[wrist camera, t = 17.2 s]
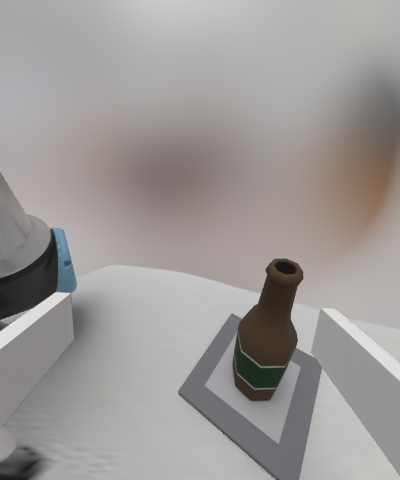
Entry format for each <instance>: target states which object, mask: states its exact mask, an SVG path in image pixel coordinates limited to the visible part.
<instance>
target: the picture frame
mask: <svg viewBox="0 0 400 480" xmlns="http://www.w3.org/2000/svg"><path fill="white" fill-rule="evenodd" d="M241 320H242V318H240V317H238V316H236V315H234V314H231V315H230V317H229V318H228V319H227V321H226V322H225V324H224V325H223V327H222V328H221V330H220V331H219V333H218V334H217V336H216V337H215V338H214V340H213V341H212V343H211V344H210V346H209V347H208V349H207V350H206V352H205V353H204V355H203V356H202V357H201V359H200V360H199V362H198V363H197V365H196V366H195V368H194V369H193V371H192V372H191V374H190V375H189V376H188V378H187V379H186V381H185V382H184V384H183V385H182V387H181V388H180V390H179V391H178V392H179V395H180V396H182V397H183V398H184V399H185V400H186V401H187V402H188V403H190V404H191V405H192V406H193V407H194V408H195V409H196V410H198V411H199V412H200V413H201V414H202V415H203V416H205V417H206V418H207V419H208V420H209V421H210V422H211V423H213V424H214V425H215V426H216V427H217V428H218V429H219V430H221V431H222V432H223V433H224V434H225V435H226V436H227V437H229V438H230V439H231V440H232V441H233V442H234V443H235V444H237V445H238V446H239V447H240V448H241V449H242V450H243V451H245V452H246V453H247V454H248V455H249V456H250V457H251V458H253V459H254V460H255V461H256V462H257V463H258V464H259V465H261V466H262V467H263V468H264V469H265V470H266V471H267V472H269V473H270V474H271V475H272V476H273V477H274V478H275V479H277V480H299V475H300V471H301V466H302V461H303V456H304V451H305V446H306V442H307V437H308V432H309V427H310V422H311V417H312V412H313V408H314V403H315V398H316V393H317V388H318V383H319V379H320V374H321V369H322V367H321V365H320V364H319V363H318V361H317V360H316V359H315V358H314V357H312V356H310V355H308V354H306V353H304V352H302V351H301V350H299V349H297V348H296V349H295V351H294V353H293V355H292V358H291V360H290V362H289V364H288V367H287V369H286V371H285V373H284V376H283V378H282V380H281V382H280V383H279V385H278V387H277V389H276V391H275V392H274V394H273V396H272V397H271V399H270V400H261V401H251V400H249V399H248V398H247V397H246V396H245V395H244V394H243V393H242V392H241V391H240V390H239V389H238V388H237V387H236V386H235V381H234V374H233V367H232V364H233V355H234V349H235V342H236V336H237V329H238V326H239V323H240V321H241Z"/></svg>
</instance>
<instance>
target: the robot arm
mask: <svg viewBox="0 0 400 480" xmlns="http://www.w3.org/2000/svg"><path fill="white" fill-rule="evenodd" d="M76 287H77V281H76V277H75V273H74V270H73V265H72V261H71V257H70V253H69V249H68V245H67V241H66V237H65V233H64V230H63V229H61V228H51V229H49V227H48V226H47V224H46V223H45V222H44V221H43V220H41V219H39V218H37V217H35V216H32V215H27V214H26V213H25V211H24V210H23V208H22V206H21V205H20V203H19V202H18V200H17V198H16V197H15V195H14V193H13V192H12V190H11V189H10V187H9V185H8V184H7V182H6V181H5V179H4V177H3V176H2V174H1V173H0V320H1V319H4V318H7V317H9V316H12V315H15V314H18V313H21V312H24V311H27V310H29V309H31V310H30V311H28V312H27V313H26V314H24V315H23V316H21V317H20V318H18V319H17V320H16V321H14V322H13V323H11V324H10V325H8V324H6V323H3V322H1V321H0V428H1V427H2V425H3V424H4V423H5V422H6V421H7V419H8V418H9V417H10V416H11V415H12V413H13V412H14V411H15V410H16V409H17V407H18V406H19V405H20V404H21V403H22V401H23V400H24V399H25V398H26V397H27V395H28V394H29V393H30V392H31V391H32V389H33V388H34V387H35V386H36V385H37V383H38V382H39V381H40V380H41V379H42V378H43V376H44V375H45V374H46V373H47V372H48V370H49V369H50V368H51V367H52V366H53V364H54V363H55V362H56V361H57V360H58V358H59V357H60V356H61V355H62V354H63V352H64V351H65V350H66V349H67V348H68V346H69V345H70V344H71V343H72V342H73V340H74V330H73V315H72V300H71V293H72V292H74V291H75V289H76ZM32 308H33V309H32ZM311 353H312V354H313V356H314V357H315V358H316V360H317V361H318V363H319V364H320V365H321V367H322V368H323V369H324V371H325V372H326V374H327V375H328V376H329V378H330V379H331V381H332V382H333V383H334V385H335V386H336V388H337V389H338V390H339V392H340V393H341V395H342V396H343V397H344V399H345V400H346V401H347V403H348V404H349V406H350V407H351V408H352V410H353V411H354V413H355V414H356V415H357V417H358V418H359V420H360V421H361V422H362V424H363V425H364V426H365V428H366V429H367V431H368V432H369V433H370V435H371V436H372V438H373V439H374V440H375V442H376V443H377V445H378V446H379V447H380V449H381V450H382V452H383V453H384V454H385V456H386V457H387V458H388V460H389V461H390V463H391V464H392V465H393V467H394V468H395V470H396V471H397V472H398V474H399V475H400V363H399V362H398V361H397V360H395V359H394V358H393V357H392V356H391V355H389V354H388V353H387V352H386V351H385V350H383V349H382V348H381V347H380V346H379V345H377V344H376V343H375V342H374V341H373V340H371V339H370V338H369V337H368V336H367V335H366V334H364V333H363V332H362V331H361V330H360V329H358V328H357V327H356V326H355V325H354V324H352V323H351V322H350V321H349V320H348V319H346V318H345V317H344V316H343V315H342V314H340V313H339V312H338V311H337V310H336V309H328V308H321V310H320V314H319V319H318V323H317V328H316V332H315V337H314V341H313V346H312V350H311Z"/></svg>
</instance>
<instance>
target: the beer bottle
mask: <svg viewBox="0 0 400 480" xmlns="http://www.w3.org/2000/svg"><path fill="white" fill-rule="evenodd" d="M266 273H267V278H266V281H265V284H264V287H263V290H262V293H261V296H260V299H259V302H258V304H257V305H254V307H253V308H252V309H251V310H250V311H249V312H248V313H247V314H246V315H245V317H244V318H243V319H242V320H241V321H240V323H239V326H238V329H237V336H236V342H235V349H234V355H233V364H232V367H233V374H234V381H235V386H236V387H237V388H238V389H239V390H240V391H241V392H242V393H243V394H244V395H245V396H246V397H247V398H248V399H249V400H251V401H261V400H270V399H271V397H272V396H273V394H274V392H275V391H276V389H277V387H278V385H279V383H280V382H281V380H282V378H283V376H284V373H285V371H286V369H287V367H288V364H289V362H290V360H291V358H292V355H293V353H294V351H295V349H296V345H297V342H298V339H297V333H296V330H295V328H294V326H293V324H292V321H291V310H292V306H293V302H294V298H295V294H296V290H297V286H298V285H299V283H300V282H301V281H302V280H303V271H302V269H301V268H300V266H299V265H298V264H297V263H295V262H293V261H291V260H288V259H274V260H273V261H272V262H271V263H270V264H269V265H268V267H267V268H266Z"/></svg>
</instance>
